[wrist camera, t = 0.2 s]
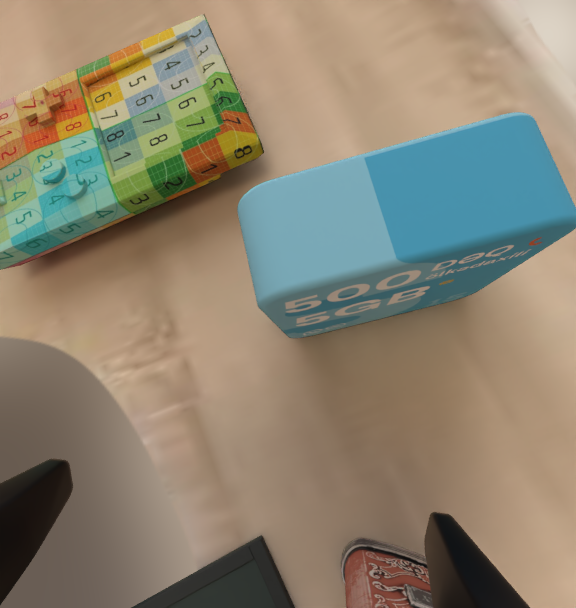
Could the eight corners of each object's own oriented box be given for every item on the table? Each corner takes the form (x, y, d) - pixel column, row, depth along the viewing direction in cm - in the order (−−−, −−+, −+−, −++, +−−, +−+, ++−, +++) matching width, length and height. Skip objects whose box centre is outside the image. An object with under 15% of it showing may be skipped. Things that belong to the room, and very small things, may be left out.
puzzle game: (-57, 116, 26) (199, 0, 25) (2, 156, 30) (220, 58, 30) (-31, 259, 23) (258, 132, 22) (29, 279, 28) (271, 175, 27)
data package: (290, 341, 24) (249, 303, 12) (276, 278, 25) (226, 189, 14) (471, 297, 23) (607, 211, 12) (448, 233, 24) (552, 97, 13)
